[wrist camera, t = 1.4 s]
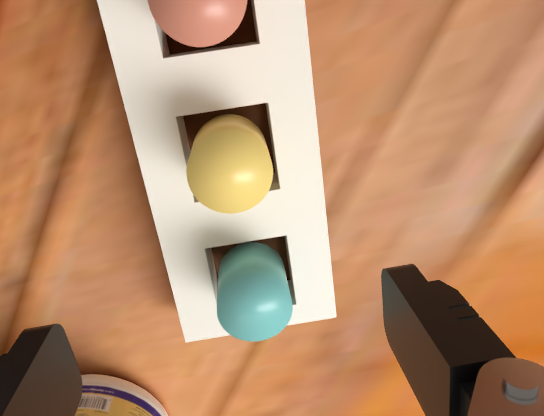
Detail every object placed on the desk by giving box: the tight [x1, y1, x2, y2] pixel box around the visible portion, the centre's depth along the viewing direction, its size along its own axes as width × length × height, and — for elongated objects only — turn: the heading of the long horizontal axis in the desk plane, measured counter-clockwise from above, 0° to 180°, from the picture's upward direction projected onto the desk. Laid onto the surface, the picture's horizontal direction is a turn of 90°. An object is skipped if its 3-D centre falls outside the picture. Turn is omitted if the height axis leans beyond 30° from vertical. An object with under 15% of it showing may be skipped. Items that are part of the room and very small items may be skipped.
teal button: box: [217, 242, 293, 341], centre depth 28 cm, size 4×4×4 cm
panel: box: [97, 0, 336, 342], centre depth 27 cm, size 10×24×3 cm, turn 8°
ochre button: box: [186, 114, 273, 214], centre depth 24 cm, size 4×4×4 cm
